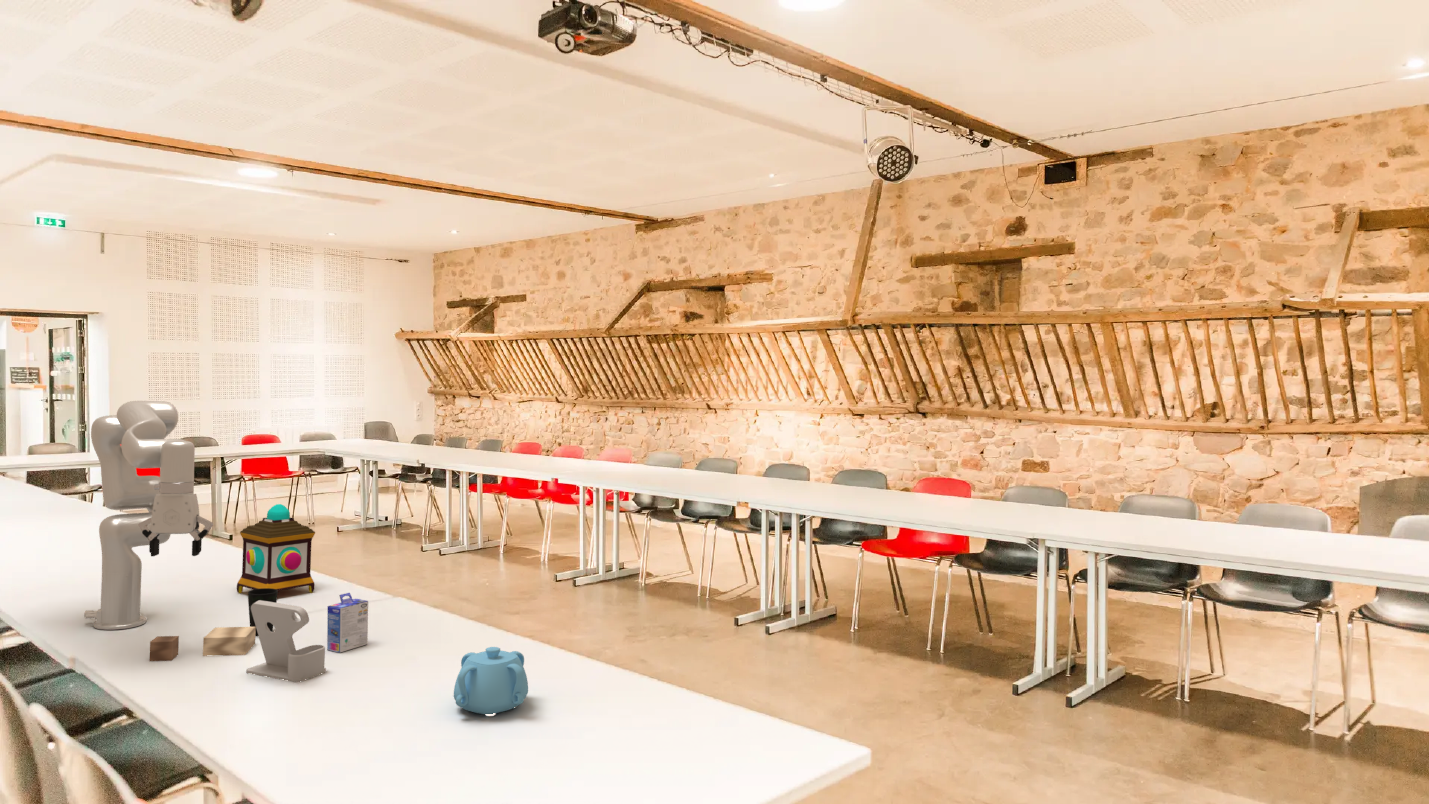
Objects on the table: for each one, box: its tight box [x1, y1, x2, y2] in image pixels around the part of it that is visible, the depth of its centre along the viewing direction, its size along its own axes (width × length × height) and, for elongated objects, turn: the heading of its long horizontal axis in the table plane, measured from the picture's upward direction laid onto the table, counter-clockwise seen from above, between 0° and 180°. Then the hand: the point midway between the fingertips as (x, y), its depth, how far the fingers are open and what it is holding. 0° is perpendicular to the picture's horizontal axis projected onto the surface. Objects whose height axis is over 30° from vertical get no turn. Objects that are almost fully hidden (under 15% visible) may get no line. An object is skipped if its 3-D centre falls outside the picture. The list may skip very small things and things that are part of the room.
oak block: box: [202, 626, 256, 657], centre depth 237 cm, size 10×10×5 cm
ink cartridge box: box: [326, 592, 369, 653], centre depth 243 cm, size 10×6×14 cm, turn 155°
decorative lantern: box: [236, 503, 316, 594], centre depth 299 cm, size 20×20×30 cm
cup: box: [247, 588, 279, 637], centre depth 252 cm, size 8×8×12 cm
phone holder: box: [245, 600, 327, 683], centre depth 221 cm, size 17×10×18 cm, turn 71°
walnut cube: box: [148, 635, 180, 662], centre depth 228 cm, size 5×5×5 cm
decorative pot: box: [453, 646, 529, 715], centre depth 203 cm, size 16×16×14 cm
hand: (175, 555), depth 230 cm, fingers open, 9 cm apart
